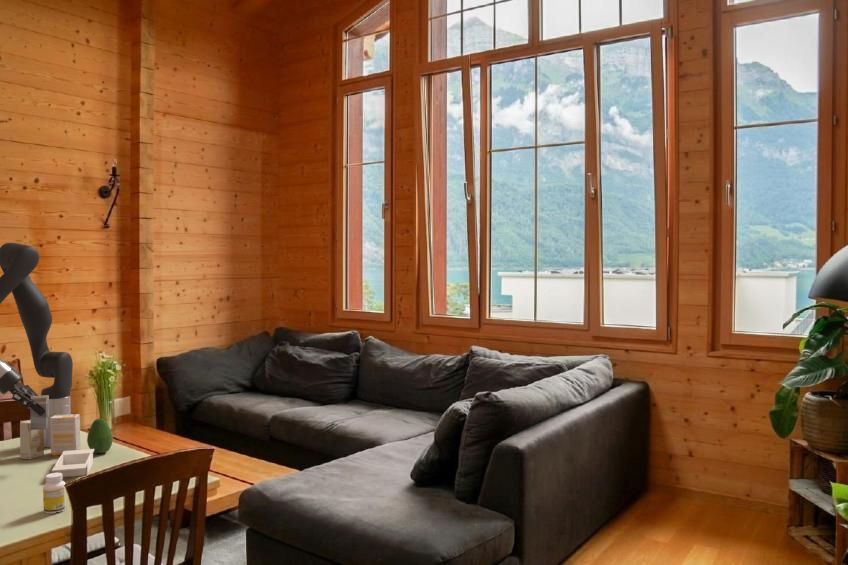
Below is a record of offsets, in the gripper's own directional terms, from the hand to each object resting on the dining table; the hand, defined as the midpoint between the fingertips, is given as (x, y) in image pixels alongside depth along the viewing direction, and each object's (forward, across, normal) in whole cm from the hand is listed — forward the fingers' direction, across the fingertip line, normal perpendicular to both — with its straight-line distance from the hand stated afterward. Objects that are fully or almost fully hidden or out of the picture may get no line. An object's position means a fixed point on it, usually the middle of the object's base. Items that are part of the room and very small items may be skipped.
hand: (44, 411), depth 225 cm
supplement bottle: (+20, -42, +6) cm, 47 cm away
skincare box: (+8, +14, +17) cm, 24 cm away
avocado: (+23, +12, +2) cm, 26 cm away
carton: (+19, -5, +6) cm, 21 cm away
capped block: (+3, 0, +5) cm, 5 cm away
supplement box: (+15, +15, +10) cm, 24 cm away
